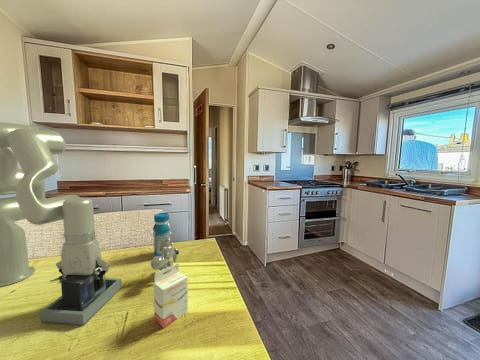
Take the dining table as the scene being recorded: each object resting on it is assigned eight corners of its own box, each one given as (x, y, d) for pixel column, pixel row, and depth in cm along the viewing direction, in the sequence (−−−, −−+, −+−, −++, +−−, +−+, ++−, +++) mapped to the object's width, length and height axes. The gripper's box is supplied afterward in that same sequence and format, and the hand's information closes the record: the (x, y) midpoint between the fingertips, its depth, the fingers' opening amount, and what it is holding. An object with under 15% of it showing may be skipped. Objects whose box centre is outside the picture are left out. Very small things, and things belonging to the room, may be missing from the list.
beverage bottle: (161, 260, 96) (159, 218, 93) (150, 255, 100) (148, 215, 98) (175, 252, 103) (174, 213, 101) (164, 248, 107) (163, 211, 105)
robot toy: (161, 290, 74) (160, 250, 72) (147, 287, 76) (145, 248, 74) (183, 269, 88) (182, 235, 86) (170, 266, 90) (169, 233, 88)
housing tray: (41, 322, 60) (39, 311, 59) (88, 285, 76) (87, 277, 76) (83, 325, 59) (82, 314, 58) (121, 287, 75) (121, 278, 75)
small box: (81, 315, 62) (78, 282, 61) (61, 313, 62) (58, 280, 61) (107, 292, 72) (105, 263, 71) (90, 290, 73) (88, 262, 72)
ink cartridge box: (163, 329, 58) (161, 280, 56) (154, 320, 61) (152, 273, 59) (188, 311, 64) (187, 267, 62) (179, 304, 67) (178, 261, 66)
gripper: (42, 241, 62) (48, 294, 64) (97, 243, 61) (101, 297, 63) (65, 232, 69) (70, 279, 71) (115, 233, 68) (118, 282, 70)
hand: (85, 288), depth 67 cm, fingers open, 9 cm apart
